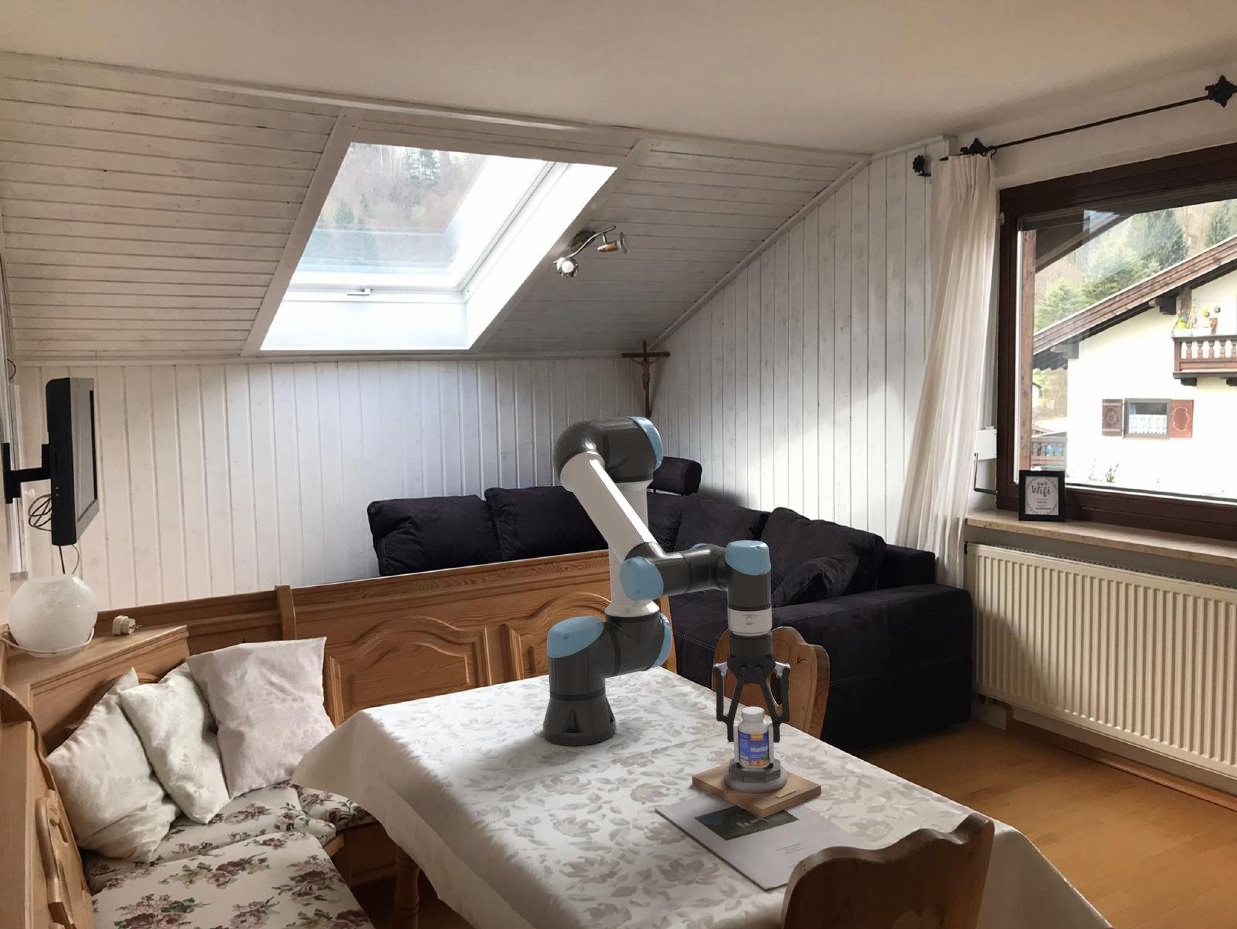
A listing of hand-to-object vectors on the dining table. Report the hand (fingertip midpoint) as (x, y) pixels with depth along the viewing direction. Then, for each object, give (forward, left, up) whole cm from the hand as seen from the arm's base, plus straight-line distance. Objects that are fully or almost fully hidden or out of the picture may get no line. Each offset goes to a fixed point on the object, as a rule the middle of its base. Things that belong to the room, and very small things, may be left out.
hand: (754, 759), depth 174 cm
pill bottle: (0, 0, -1) cm, 1 cm away
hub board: (0, 0, -5) cm, 5 cm away
